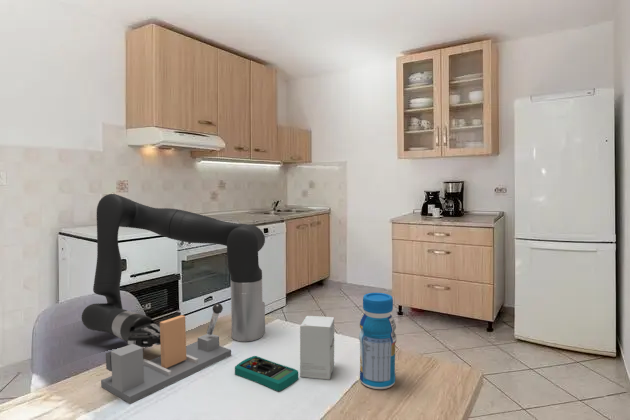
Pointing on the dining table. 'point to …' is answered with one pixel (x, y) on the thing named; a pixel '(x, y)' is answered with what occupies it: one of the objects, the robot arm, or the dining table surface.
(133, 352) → the console
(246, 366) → the digital multimeter
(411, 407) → the dining table surface
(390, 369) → the beverage bottle
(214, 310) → the toggle lever
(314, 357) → the supplement box
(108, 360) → the push button
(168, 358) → the tan upright board
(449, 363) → the dining table surface
